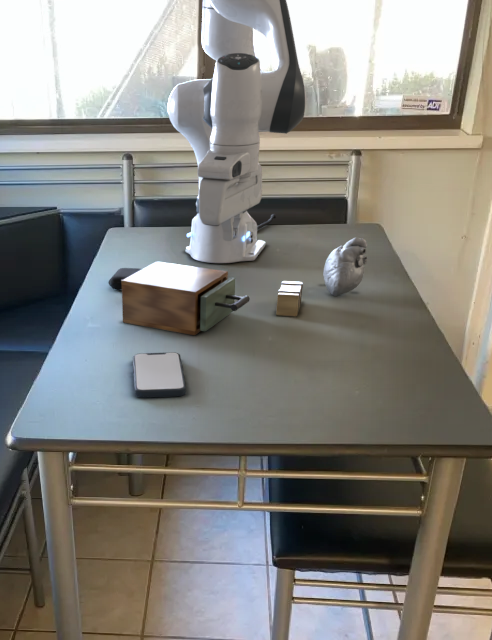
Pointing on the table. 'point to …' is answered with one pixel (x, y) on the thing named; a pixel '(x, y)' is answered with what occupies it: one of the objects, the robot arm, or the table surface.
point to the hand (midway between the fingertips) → (230, 238)
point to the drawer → (218, 303)
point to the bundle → (289, 298)
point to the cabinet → (167, 296)
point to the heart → (345, 267)
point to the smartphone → (158, 375)
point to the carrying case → (121, 277)
